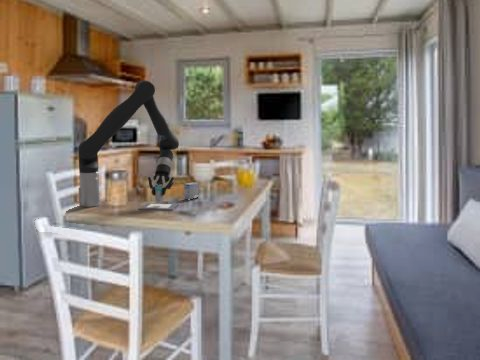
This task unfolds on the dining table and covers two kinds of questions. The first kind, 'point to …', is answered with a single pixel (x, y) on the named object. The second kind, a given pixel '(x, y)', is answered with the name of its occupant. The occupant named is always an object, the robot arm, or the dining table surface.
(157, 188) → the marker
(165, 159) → the robot arm
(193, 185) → the medicine box
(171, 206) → the writing mat
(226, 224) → the dining table surface
